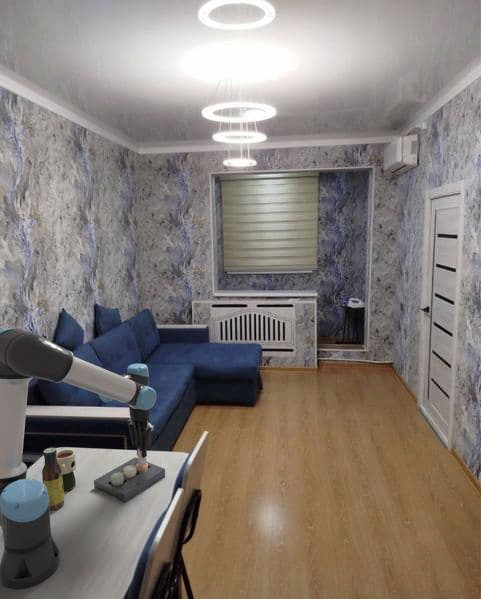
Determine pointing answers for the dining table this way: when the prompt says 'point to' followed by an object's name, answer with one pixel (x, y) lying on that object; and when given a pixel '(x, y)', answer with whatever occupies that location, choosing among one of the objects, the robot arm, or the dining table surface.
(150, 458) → the dining table surface
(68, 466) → the character mug
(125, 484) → the panel
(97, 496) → the dining table surface
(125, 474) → the cream button
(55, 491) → the sauce bottle
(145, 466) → the terracotta button
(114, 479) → the sage button
